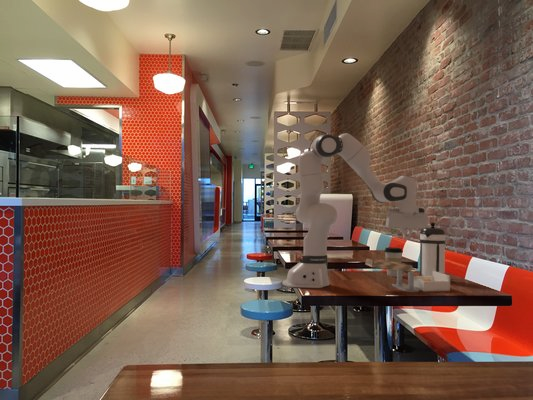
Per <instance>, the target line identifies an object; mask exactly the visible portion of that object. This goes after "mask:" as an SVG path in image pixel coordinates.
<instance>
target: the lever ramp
mask: <svg viewBox="0 0 533 400" xmlns="http://www.w3.org/2000/svg"><path fill="white" fill-rule="evenodd" d="M365 265H366V266H369V267H371V268H377V269H384V270H385V269H386V270H387V269H391V270H400V271H402V273H403V272H404V273H406V274H408V272H416V270H417V268H414V267H413V265H411V264H408V263H407V264H406V263H404V262H401V263H398V262H390V261H386V260H380V259H372V258H366V259H365Z"/></svg>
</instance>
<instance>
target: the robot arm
mask: <svg viewBox="0 0 533 400" xmlns="http://www.w3.org/2000/svg"><path fill="white" fill-rule="evenodd" d="M335 155H338V156H340V157H341V158H342V160H344V161H345V163H346V164H348V166H349V167H350V168H351V169H352V170H353V171H354V172H355V173H356V174H357V175H358V177H359V178H360V179H361V181H362V182H363V183H364V184H365V185H366V187H367V188H368V189H369V191H370V193H371V196H372V198H373V200H374V201H375V202H377V203H378V204H379V203H380V204H385V203H395V202H397V207H396V208H389V209H387V211H386V220H385V227H386V229H400V232H401V234H402V238H403V239H406V238H407V239H408V238H411V234H412V232H413V229H422V228H427V227H429V225H428V223H429V222H428V215H427V209H426V208H423V207H421V206H418V205H417V194H418V193H417V192H418V191H417V189H418V188H417V187H418V186H417V181H416V179H415V177H413V176H410V175H400V176H399V177H397V178H396V179H393V180H391V181H389V182H383V181H381V180H379V179H378V177H377V176H376V175H375V174H374V173H373V171H372V170H371V168H370V167H371V166H370V163H371V161H372V157H371V154H370V153H369V151H368V150H367V148H366V147H365V146H364V145H363V144H362V143H361V142H360V141H359V140H358V139H357V138H355V137H354V136H353V135H351V133H347V132H345V133H341V134H339V135H338V136H337V135H332V134H329V133H326V134H322V135H318V136H316V137H315V138H314V139H313V140H312V141H311V143H310V146H309V148H308V151H307V150H306V151H303V152H302V153H301V154H299V156H298V165H297V166H298V168H297V169H298V170H297V171H298V180H299V187H300V197H299V198H300V199H299V203H298V206H297V208H296V210H295V218H296V220H297V221H298V222H299V223H301V224H303V225H306V226H309V229H308V231H307V234H306V235H305V236H304V237H303V254H297V256H296V258H297V259H298V260H299V262H297V264H295V265H294V266H292V267H291V268H290V269H289V270H288V272H287V276H286V279H283V280H282V282H281V284H282V285H283V286H285V287H288V288H303V289H304V288H305V289H307V288H309V289H310V288H311V289H322V288H324V287H328V286H330V280H329V275H328V260H329V257H328V253H327V250H328V249H327V248H328V247H327V246H328V236H329V233H330V230H331V228H332V226H333V225H334V224H335V223H336V221H337V220H338V212H337V209H336V207H334V206H333V205H331V204H328V203H325V202H320V199H321V195H322V193H323V192H324V189H325V187H324V178H323V171H322V161H323V160H324V159H327V158H332V157H333V156H335ZM406 229H407V233H406Z"/></svg>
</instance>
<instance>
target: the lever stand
mask: <svg viewBox="0 0 533 400" xmlns="http://www.w3.org/2000/svg"><path fill="white" fill-rule="evenodd" d="M414 276H415V271H412V272H408V273H407V283H404V282H403V271H400V270H397V277H396V282H395V283H394V282H393V283H391V286H392V287H395V288H397V289H399V290H401V291H403V292H405V291H406V293H419V292H420V290H419V289H417V288H414Z"/></svg>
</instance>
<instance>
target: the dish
mask: <svg viewBox="0 0 533 400" xmlns="http://www.w3.org/2000/svg"><path fill="white" fill-rule="evenodd" d="M426 278H428V279H430V280H431V281H423V280H424V279H426ZM414 288H416V289H419V291H421V292H451V275H449V274H446V273H445V274H443V273H440V272H436V271H433V276H419V275H414Z"/></svg>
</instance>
